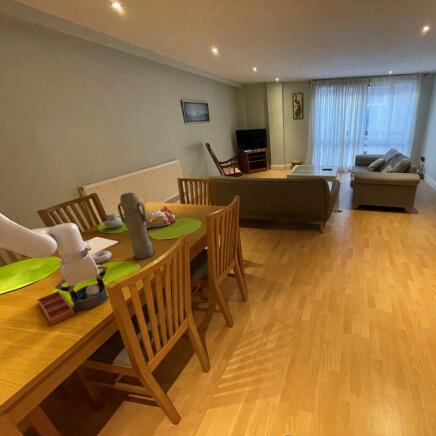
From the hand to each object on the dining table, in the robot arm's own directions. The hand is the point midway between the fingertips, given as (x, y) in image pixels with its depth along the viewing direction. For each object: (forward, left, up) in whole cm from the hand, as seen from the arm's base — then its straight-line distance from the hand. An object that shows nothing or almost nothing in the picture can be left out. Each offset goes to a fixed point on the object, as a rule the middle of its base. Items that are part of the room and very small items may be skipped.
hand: (88, 292), depth 97 cm
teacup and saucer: (+16, +56, -4) cm, 58 cm away
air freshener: (+36, +76, -4) cm, 84 cm away
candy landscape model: (+58, +60, -4) cm, 84 cm away
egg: (0, 0, -4) cm, 4 cm away
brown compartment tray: (-10, +6, -4) cm, 12 cm away
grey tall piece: (+30, +20, -4) cm, 36 cm away
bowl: (0, 0, -4) cm, 4 cm away
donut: (+14, +34, -4) cm, 37 cm away
